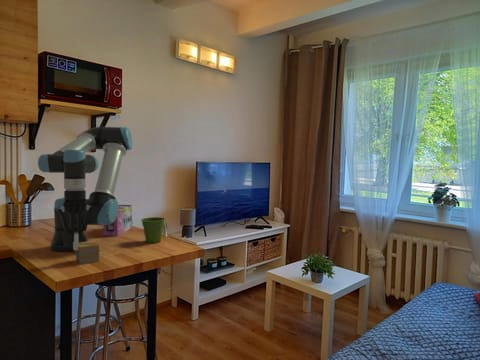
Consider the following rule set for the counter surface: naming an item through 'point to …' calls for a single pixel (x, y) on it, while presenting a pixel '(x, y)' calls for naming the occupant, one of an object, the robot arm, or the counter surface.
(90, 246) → the block
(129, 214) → the gum box
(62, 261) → the counter surface
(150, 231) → the plant pot
